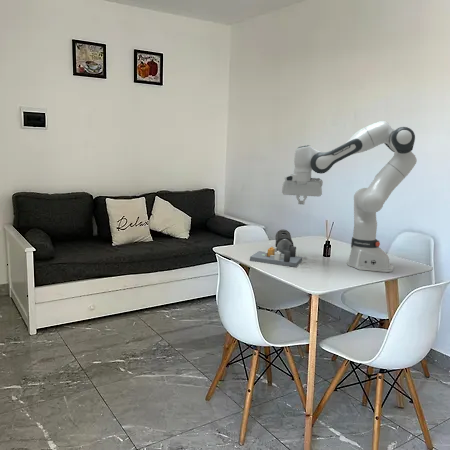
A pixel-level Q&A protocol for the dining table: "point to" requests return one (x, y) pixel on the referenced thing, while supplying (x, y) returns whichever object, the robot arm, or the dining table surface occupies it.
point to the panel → (271, 260)
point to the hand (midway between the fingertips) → (301, 204)
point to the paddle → (271, 251)
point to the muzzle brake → (283, 241)
